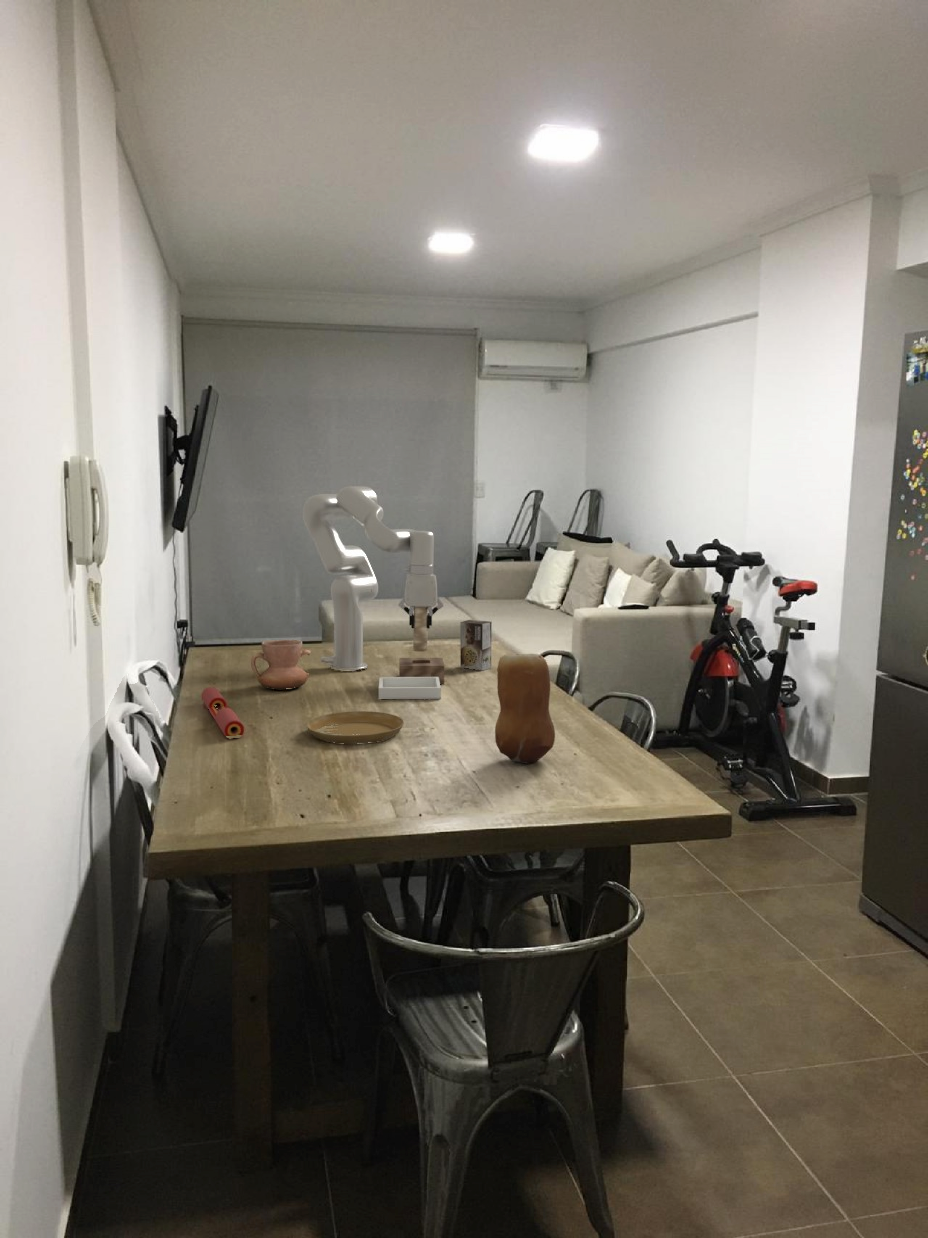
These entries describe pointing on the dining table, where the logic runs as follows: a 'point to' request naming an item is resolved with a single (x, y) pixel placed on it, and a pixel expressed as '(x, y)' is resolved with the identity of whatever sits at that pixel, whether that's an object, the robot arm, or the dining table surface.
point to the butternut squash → (524, 708)
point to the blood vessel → (222, 712)
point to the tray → (409, 688)
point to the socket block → (422, 667)
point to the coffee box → (475, 644)
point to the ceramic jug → (281, 664)
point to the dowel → (420, 629)
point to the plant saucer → (356, 726)
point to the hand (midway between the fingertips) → (420, 627)
